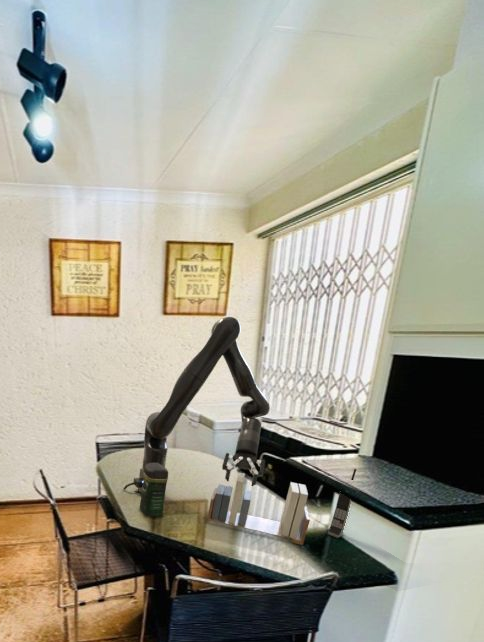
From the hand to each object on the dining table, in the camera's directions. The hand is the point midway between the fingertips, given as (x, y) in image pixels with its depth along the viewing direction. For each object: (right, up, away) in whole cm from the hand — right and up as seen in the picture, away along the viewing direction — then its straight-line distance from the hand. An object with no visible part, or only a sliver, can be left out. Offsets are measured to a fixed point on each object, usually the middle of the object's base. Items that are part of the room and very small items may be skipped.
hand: (240, 482), depth 138 cm
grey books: (-2, -13, +5) cm, 14 cm away
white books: (+16, -17, -1) cm, 23 cm away
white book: (-1, -13, +4) cm, 14 cm away
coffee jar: (-31, -11, +6) cm, 34 cm away
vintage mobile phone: (+35, -19, +2) cm, 40 cm away
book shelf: (+6, -16, +3) cm, 17 cm away
